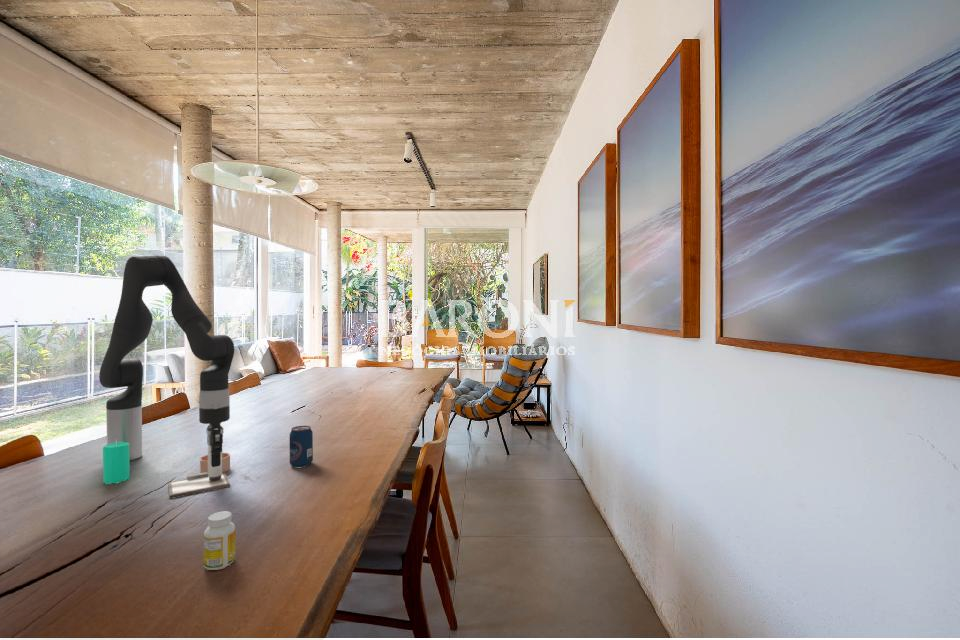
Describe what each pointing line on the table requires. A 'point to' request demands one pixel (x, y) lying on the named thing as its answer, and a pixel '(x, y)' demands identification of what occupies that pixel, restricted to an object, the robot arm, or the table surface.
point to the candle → (116, 462)
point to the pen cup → (224, 463)
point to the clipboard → (196, 484)
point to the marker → (214, 472)
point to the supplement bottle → (219, 540)
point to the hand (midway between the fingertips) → (215, 463)
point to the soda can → (301, 446)
